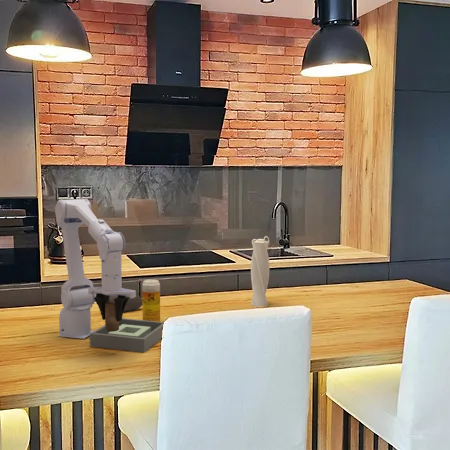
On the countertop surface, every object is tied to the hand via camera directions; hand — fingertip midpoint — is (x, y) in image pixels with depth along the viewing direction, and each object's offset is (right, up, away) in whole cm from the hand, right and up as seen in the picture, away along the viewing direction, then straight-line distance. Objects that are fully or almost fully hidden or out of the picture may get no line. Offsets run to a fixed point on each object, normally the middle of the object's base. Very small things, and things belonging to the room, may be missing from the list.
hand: (112, 319), depth 162 cm
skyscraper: (+47, -4, +56) cm, 73 cm away
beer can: (+8, -7, +31) cm, 32 cm away
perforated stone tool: (-5, -5, +46) cm, 46 cm away
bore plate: (+3, -9, +12) cm, 15 cm away
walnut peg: (0, -3, 0) cm, 3 cm away
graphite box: (+3, -9, +12) cm, 15 cm away
